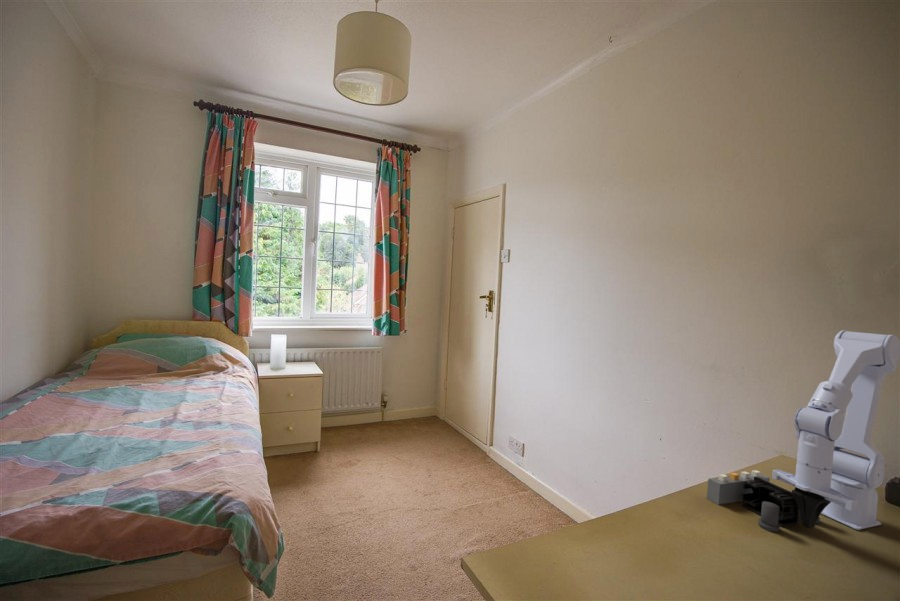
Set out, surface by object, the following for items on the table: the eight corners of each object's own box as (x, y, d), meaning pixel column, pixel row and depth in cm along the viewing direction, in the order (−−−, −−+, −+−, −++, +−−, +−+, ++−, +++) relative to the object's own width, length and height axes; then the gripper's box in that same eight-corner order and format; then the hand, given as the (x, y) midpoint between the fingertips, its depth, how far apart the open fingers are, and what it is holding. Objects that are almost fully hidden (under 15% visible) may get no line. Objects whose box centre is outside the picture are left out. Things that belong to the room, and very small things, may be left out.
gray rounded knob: (765, 521, 91) (767, 499, 91) (783, 531, 88) (785, 508, 88) (754, 523, 90) (756, 501, 90) (772, 533, 86) (774, 510, 86)
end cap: (806, 525, 91) (809, 495, 91) (783, 528, 89) (786, 498, 89) (760, 502, 100) (763, 475, 100) (739, 504, 98) (741, 477, 98)
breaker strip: (755, 491, 106) (757, 467, 106) (768, 496, 104) (770, 472, 103) (706, 498, 100) (708, 473, 100) (718, 504, 97) (720, 479, 97)
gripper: (765, 452, 93) (760, 510, 93) (845, 481, 79) (838, 549, 80) (785, 450, 95) (780, 506, 96) (866, 478, 82) (859, 544, 82)
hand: (808, 526), depth 88 cm, fingers closed
